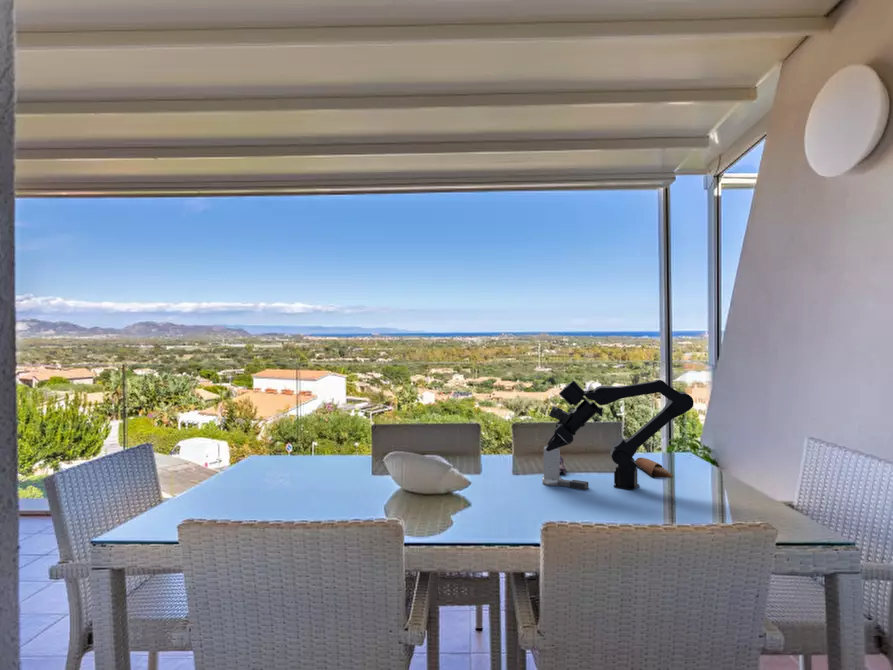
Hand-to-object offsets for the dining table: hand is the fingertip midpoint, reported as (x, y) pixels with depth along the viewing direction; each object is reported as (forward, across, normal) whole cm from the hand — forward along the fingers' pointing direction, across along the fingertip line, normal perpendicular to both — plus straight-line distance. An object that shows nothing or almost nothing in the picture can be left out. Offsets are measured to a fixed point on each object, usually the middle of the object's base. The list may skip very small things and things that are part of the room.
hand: (547, 447), depth 202 cm
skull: (+7, -17, +10) cm, 21 cm away
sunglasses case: (-17, -23, +35) cm, 45 cm away
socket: (+6, 0, +8) cm, 10 cm away
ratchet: (+5, +2, +12) cm, 13 cm away
